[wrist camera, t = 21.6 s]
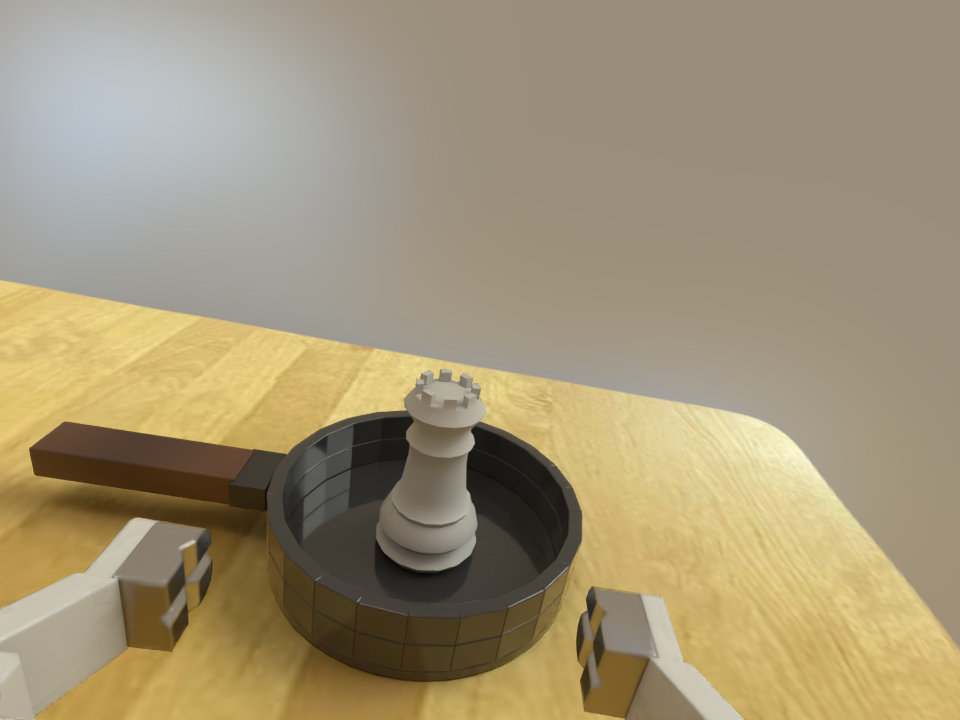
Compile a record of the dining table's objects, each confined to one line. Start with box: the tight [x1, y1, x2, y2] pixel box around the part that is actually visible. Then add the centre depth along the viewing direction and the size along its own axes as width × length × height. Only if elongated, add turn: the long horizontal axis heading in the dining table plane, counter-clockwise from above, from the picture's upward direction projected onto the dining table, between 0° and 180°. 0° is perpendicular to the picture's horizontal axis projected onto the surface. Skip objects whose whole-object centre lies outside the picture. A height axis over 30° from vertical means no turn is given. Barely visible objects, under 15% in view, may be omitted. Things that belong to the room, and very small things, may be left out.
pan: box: [266, 410, 582, 681], centre depth 26 cm, size 13×13×3 cm
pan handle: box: [29, 422, 286, 511], centre depth 25 cm, size 10×3×1 cm, turn 88°
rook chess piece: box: [376, 369, 486, 573], centre depth 25 cm, size 4×4×8 cm
